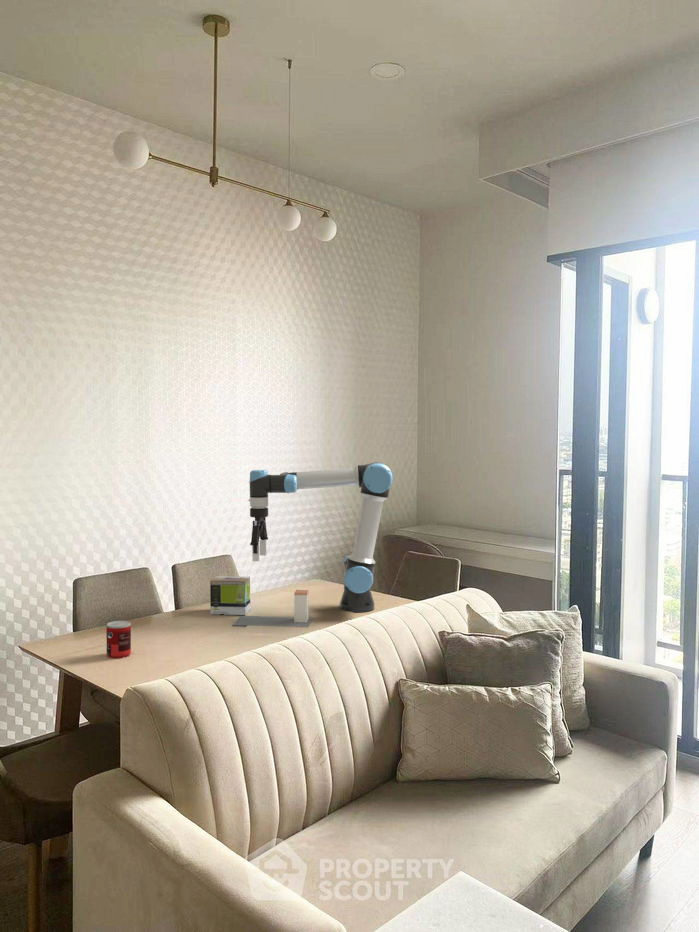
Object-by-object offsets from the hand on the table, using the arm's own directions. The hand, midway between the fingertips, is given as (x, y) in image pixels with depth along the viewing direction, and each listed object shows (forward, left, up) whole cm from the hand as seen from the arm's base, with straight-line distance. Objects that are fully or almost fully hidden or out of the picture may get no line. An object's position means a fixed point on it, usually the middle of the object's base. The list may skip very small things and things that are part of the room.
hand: (259, 558), depth 299 cm
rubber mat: (-8, +10, -24) cm, 27 cm away
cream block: (-19, +8, -24) cm, 31 cm away
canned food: (+37, +57, -24) cm, 72 cm away
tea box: (+13, -4, -24) cm, 28 cm away
